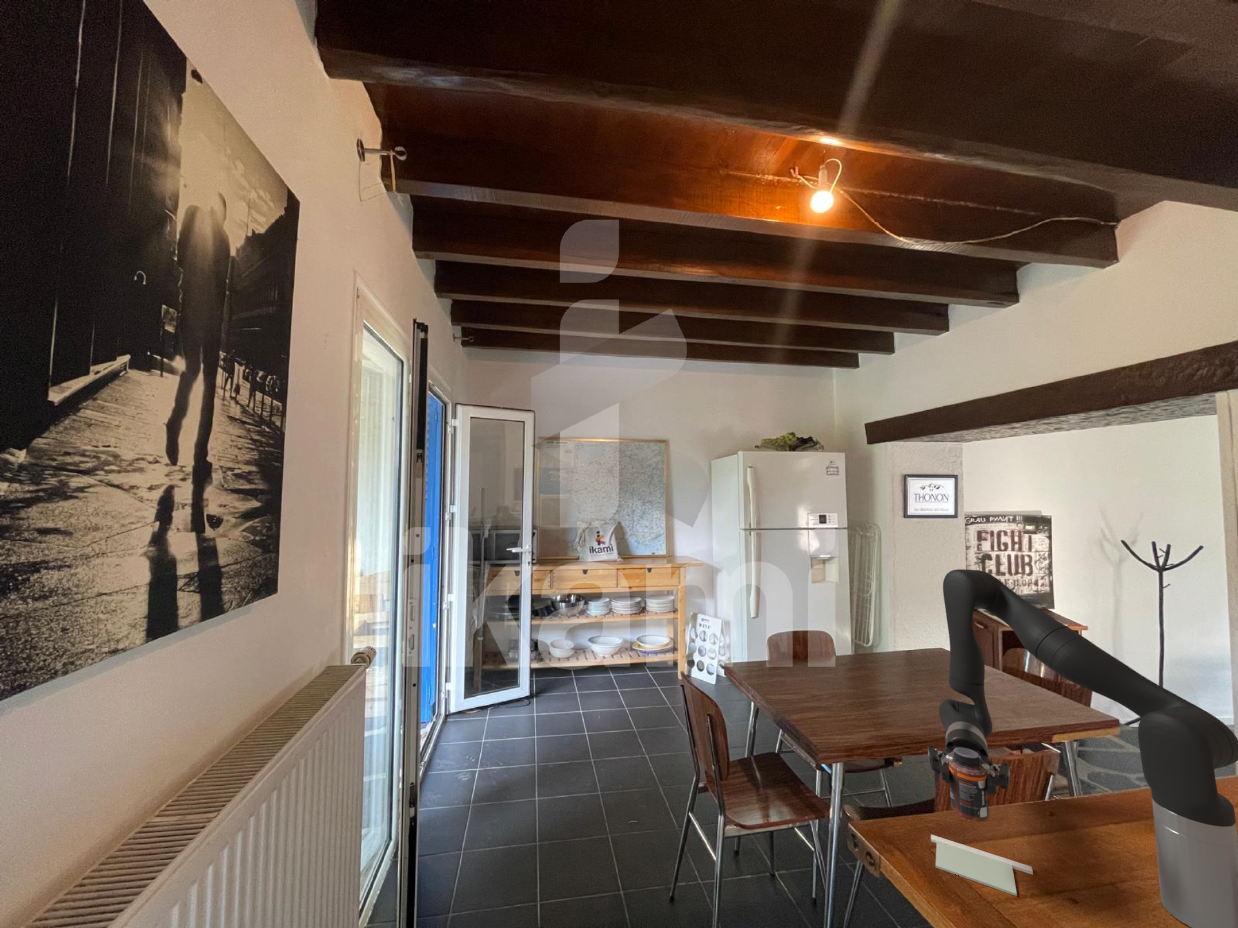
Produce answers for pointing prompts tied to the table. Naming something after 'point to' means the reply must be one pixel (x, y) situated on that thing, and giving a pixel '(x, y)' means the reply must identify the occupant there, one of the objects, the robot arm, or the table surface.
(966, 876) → the white flat t-shaped panel
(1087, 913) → the table surface
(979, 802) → the supplement bottle
